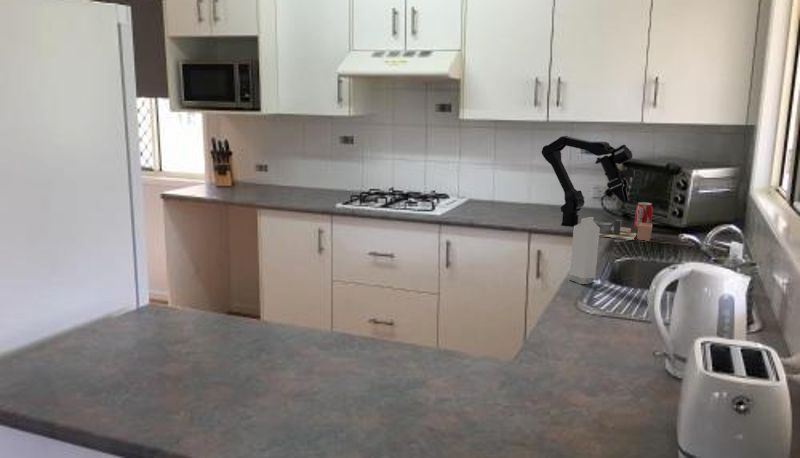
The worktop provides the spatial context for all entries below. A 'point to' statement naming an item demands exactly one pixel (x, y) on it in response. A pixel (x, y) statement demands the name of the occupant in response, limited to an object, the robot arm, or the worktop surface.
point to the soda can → (643, 213)
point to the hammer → (619, 228)
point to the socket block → (644, 231)
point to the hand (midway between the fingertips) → (625, 201)
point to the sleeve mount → (606, 232)
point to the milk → (585, 249)
